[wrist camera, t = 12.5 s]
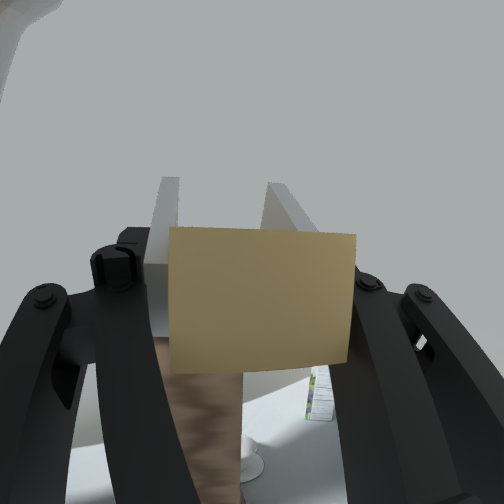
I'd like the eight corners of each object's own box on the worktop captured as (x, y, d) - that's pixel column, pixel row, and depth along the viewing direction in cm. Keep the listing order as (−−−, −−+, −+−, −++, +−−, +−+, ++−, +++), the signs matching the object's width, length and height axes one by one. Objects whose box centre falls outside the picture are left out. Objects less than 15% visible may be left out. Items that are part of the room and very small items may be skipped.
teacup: (263, 486, 37) (264, 466, 37) (197, 481, 38) (195, 460, 38) (264, 450, 47) (265, 430, 47) (208, 446, 48) (207, 426, 48)
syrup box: (306, 407, 63) (312, 348, 63) (332, 408, 62) (341, 349, 61) (304, 420, 58) (311, 357, 57) (333, 421, 56) (342, 359, 56)
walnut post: (156, 543, 23) (116, 328, 22) (156, 485, 35) (137, 299, 34) (254, 539, 26) (267, 329, 25) (236, 483, 38) (240, 301, 37)
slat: (170, 374, 6) (169, 226, 6) (177, 269, 27) (178, 234, 27) (346, 362, 7) (356, 234, 7) (222, 269, 28) (223, 236, 28)
